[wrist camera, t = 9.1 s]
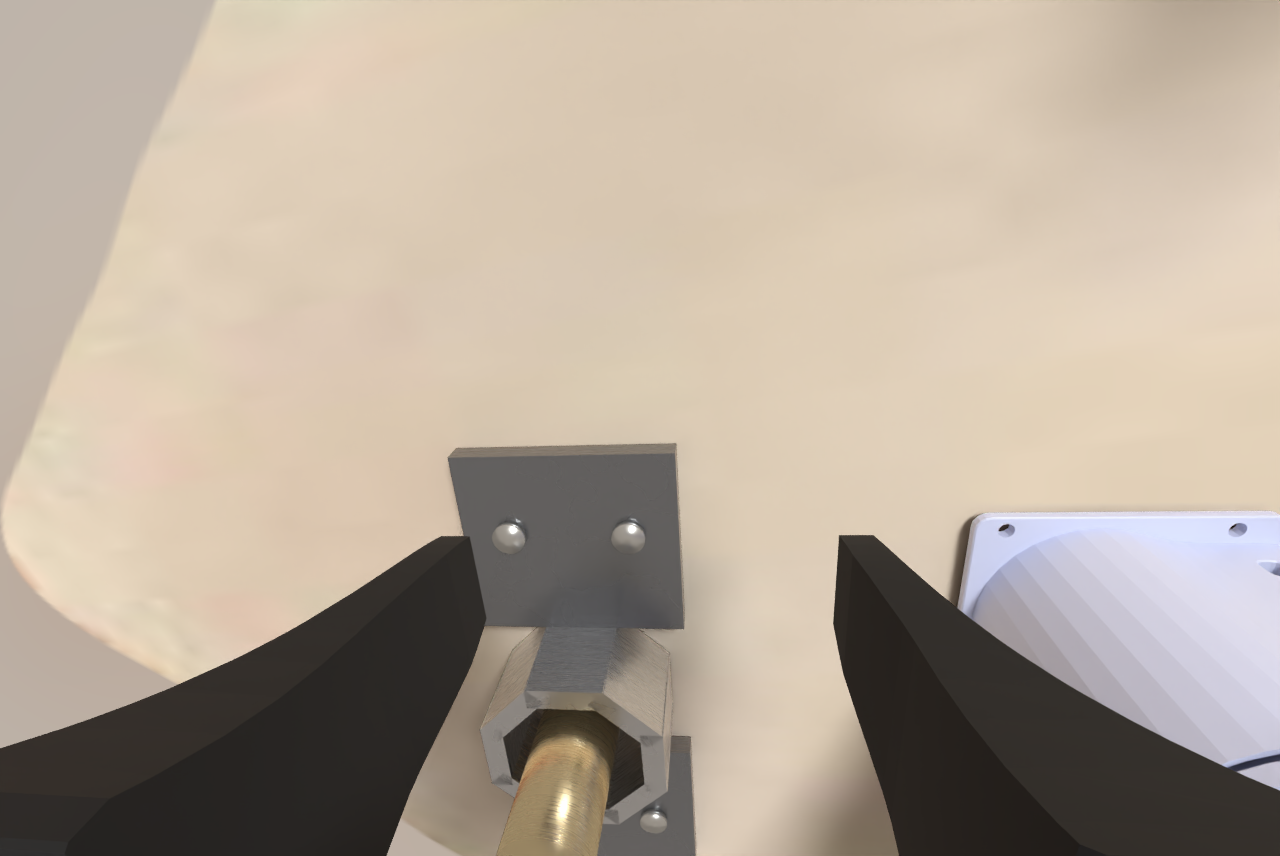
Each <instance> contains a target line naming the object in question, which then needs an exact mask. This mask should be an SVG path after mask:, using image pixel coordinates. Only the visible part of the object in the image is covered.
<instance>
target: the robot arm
mask: <svg viewBox="0 0 1280 856" xmlns="http://www.w3.org/2000/svg"><path fill="white" fill-rule="evenodd" d="M1005 524H1010V525H1009V527H1008V528H1007V529H1006V530H1004V531H998V530H999V528H1000V527H1001V526H1003V525H1005ZM1234 524H1236V526H1235V527H1234V528H1232V529H1231V530H1229V529H1230V527H1231V526H1233V525H1234ZM486 619H487V618H486V613H485V608H484V604H483V599H482V594H481V589H480V584H479V579H478V574H477V569H476V565H475V560H474V555H473V550H472V545H471V540H470V536H441V537H439V538H437V539H435V540H433V541H432V542H430V543H428V544H427V545H425V546H423V547H422V548H420V549H419V550H417V551H415V552H414V553H412V554H411V555H409V556H408V557H406V558H405V559H403V560H402V561H400V562H399V563H397V564H396V565H394V566H393V567H391V568H390V569H388V570H387V571H385V572H384V573H382V574H381V575H379V576H378V577H376V578H375V579H373V580H372V581H370V582H369V583H367V584H365V585H364V586H362V587H361V588H359V589H358V590H356V591H355V592H353V593H352V594H350V595H348V596H347V597H345V598H343V599H342V600H340V601H339V602H337V603H335V604H334V605H332V606H330V607H329V608H327V609H325V610H324V611H322V612H321V613H319V614H317V615H316V616H314V617H312V618H311V619H309V620H308V621H306V622H304V623H302V624H301V625H299V626H297V627H295V628H294V629H292V630H290V631H288V632H286V633H285V634H283V635H281V636H279V637H277V638H275V639H274V640H272V641H270V642H268V643H266V644H264V645H262V646H260V647H258V648H256V649H254V650H252V651H250V652H248V653H246V654H244V655H242V656H240V657H238V658H236V659H234V660H232V661H230V662H228V663H225V664H223V665H221V666H219V667H217V668H214V669H212V670H210V671H208V672H205V673H203V674H201V675H199V676H196V677H194V678H192V679H190V680H188V681H185V682H183V683H181V684H179V685H176V686H174V687H172V688H170V689H167V690H165V691H162V692H160V693H157V694H155V695H152V696H150V697H148V698H145V699H142V700H140V701H137V702H135V703H132V704H130V705H127V706H124V707H122V708H119V709H116V710H113V711H111V712H108V713H105V714H103V715H100V716H97V717H94V718H92V719H89V720H86V721H84V722H81V723H77V724H75V725H72V726H69V727H66V728H63V729H60V730H57V731H53V732H50V733H48V734H44V735H41V736H38V737H35V738H32V739H28V740H25V741H22V742H19V743H16V744H13V745H10V746H7V747H3V748H0V856H386V855H387V853H388V850H389V847H390V845H391V842H392V839H393V837H394V834H395V831H396V828H397V826H398V823H399V821H400V818H401V815H402V813H403V810H404V807H405V805H406V802H407V799H408V797H409V794H410V792H411V790H412V788H413V785H414V783H415V781H416V779H417V776H418V774H419V772H420V770H421V768H422V766H423V763H424V761H425V759H426V757H427V755H428V753H429V751H430V749H431V747H432V745H433V743H434V741H435V739H436V737H437V735H438V733H439V731H440V729H441V727H442V725H443V723H444V721H445V719H446V717H447V715H448V713H449V711H450V708H451V706H452V704H453V702H454V700H455V698H456V696H457V694H458V692H459V690H460V688H461V686H462V684H463V682H464V679H465V677H466V675H467V673H468V671H469V669H470V667H471V664H472V662H473V659H474V656H475V653H476V650H477V647H478V644H479V641H480V638H481V635H482V632H483V628H484V625H485V622H486ZM833 624H834V630H835V635H836V640H837V645H838V650H839V655H840V660H841V665H842V670H843V674H844V677H845V680H846V683H847V686H848V690H849V693H850V696H851V699H852V702H853V705H854V708H855V711H856V714H857V717H858V720H859V723H860V726H861V729H862V732H863V735H864V738H865V741H866V744H867V746H868V749H869V752H870V755H871V758H872V761H873V764H874V767H875V770H876V773H877V776H878V779H879V782H880V785H881V788H882V791H883V794H884V798H885V801H886V805H887V808H888V812H889V815H890V818H891V822H892V826H893V831H894V835H895V839H896V843H897V848H898V852H899V856H1280V515H1279V514H1277V513H1276V512H1273V511H1167V512H1019V513H984V514H981V515H979V516H977V517H976V518H975V519H974V520H973V521H972V524H971V528H970V534H969V540H968V546H967V552H966V558H965V564H964V570H963V576H962V583H961V589H960V595H959V601H958V607H955V606H954V605H953V604H952V603H950V602H949V601H948V600H947V599H945V598H944V597H943V596H942V595H941V594H939V593H938V592H937V591H936V590H935V589H933V588H932V587H931V586H930V585H929V584H928V583H926V582H925V581H924V580H923V579H922V578H921V577H920V576H918V575H917V574H916V573H915V572H914V571H913V570H912V569H911V568H909V567H908V566H907V565H906V564H905V563H904V562H903V561H902V560H900V559H899V558H898V557H897V556H896V555H895V554H894V553H893V552H892V551H891V550H889V549H888V548H887V547H886V546H885V545H884V544H883V543H882V542H881V541H879V540H878V539H877V538H876V537H875V536H874V535H839V547H838V562H837V576H836V591H835V606H834V621H833Z"/></svg>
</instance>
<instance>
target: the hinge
mask: <svg viewBox="0 0 1280 856" xmlns="http://www.w3.org/2000/svg"><path fill="white" fill-rule="evenodd" d="M448 462H449V467H450V472H451V477H452V481H453V486H454V491H455V496H456V500H457V505H458V510H459V515H460V519H461V524H462V529H463V534H464V536H470V540H471V545H472V550H473V555H474V560H475V565H476V569H477V574H478V579H479V584H480V589H481V594H482V599H483V604H484V608H485V613H486V618H487V619H486V622H485V625H484V626H524V627H537V628H536V629H535V630H534V631H533V632H531V633H530V634H529V635H528V636H527V637H526V638H525V639H524V640H523V641H522V642H521V643H520V644H519V645H518V646H516V647H515V648H514V649H513V650H512V652H511V655H510V657H509V660H508V662H507V665H506V667H505V669H504V672H503V674H502V677H501V679H500V682H499V684H498V686H497V689H496V691H495V694H494V696H493V699H492V701H491V704H490V706H489V708H488V711H487V713H486V716H485V718H484V721H483V723H482V725H481V728H480V732H481V737H482V741H483V745H484V750H485V754H486V758H487V763H488V767H489V771H490V776H491V780H492V784H494V785H496V786H497V787H499V788H500V789H502V790H503V791H505V792H506V793H508V794H509V795H511V796H512V797H514V798H515V796H516V793H517V790H518V787H519V784H520V780H521V777H522V774H523V771H524V768H525V765H526V762H527V759H528V756H529V753H530V750H531V747H532V744H533V741H534V738H535V734H536V731H537V728H538V725H539V722H540V719H541V716H542V713H543V710H544V709H563V710H593V711H597V712H598V713H600V714H601V715H602V716H604V717H605V718H606V719H608V720H609V721H611V722H612V723H613V724H615V725H616V726H618V727H619V734H618V739H617V745H616V751H615V756H614V762H613V768H612V774H611V779H610V785H609V791H608V796H607V802H606V808H605V813H604V819H603V825H602V831H601V836H600V842H599V848H598V853H597V856H696V832H695V812H694V792H693V772H692V752H691V737H679V736H671V729H672V713H673V701H672V685H671V670H670V653H669V652H667V651H666V650H665V649H664V648H662V647H661V646H660V645H658V644H657V643H656V642H654V641H653V640H652V639H651V638H649V637H648V636H647V635H645V634H644V633H643V632H641V631H640V630H639V629H637V628H648V629H684V620H685V610H684V590H683V570H682V550H681V530H680V509H679V489H678V469H677V449H676V444H634V445H586V446H539V447H491V448H456V449H455V450H454V451H453V452H452V453H451V454H450V456H449V457H448Z"/></svg>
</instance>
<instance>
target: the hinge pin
mask: <svg viewBox="0 0 1280 856" xmlns="http://www.w3.org/2000/svg"><path fill="white" fill-rule="evenodd" d="M618 734H619V727H618V726H616V725H615V724H613V723H612V722H611V721H609V720H608V719H606V718H605V717H604V716H602V715H601V714H600V713H598V712H597V711H593V710H563V709H544V710H543V713H542V716H541V719H540V722H539V725H538V728H537V731H536V734H535V738H534V741H533V744H532V747H531V750H530V753H529V756H528V759H527V762H526V765H525V768H524V771H523V774H522V777H521V780H520V784H519V787H518V790H517V793H516V796H515V799H514V802H513V805H512V808H511V811H510V814H509V817H508V820H507V823H506V827H505V830H504V833H503V836H502V839H501V842H500V845H499V848H498V851H497V854H496V856H597V853H598V848H599V842H600V836H601V831H602V825H603V819H604V813H605V808H606V802H607V796H608V791H609V785H610V779H611V774H612V768H613V762H614V756H615V751H616V745H617V739H618Z"/></svg>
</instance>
